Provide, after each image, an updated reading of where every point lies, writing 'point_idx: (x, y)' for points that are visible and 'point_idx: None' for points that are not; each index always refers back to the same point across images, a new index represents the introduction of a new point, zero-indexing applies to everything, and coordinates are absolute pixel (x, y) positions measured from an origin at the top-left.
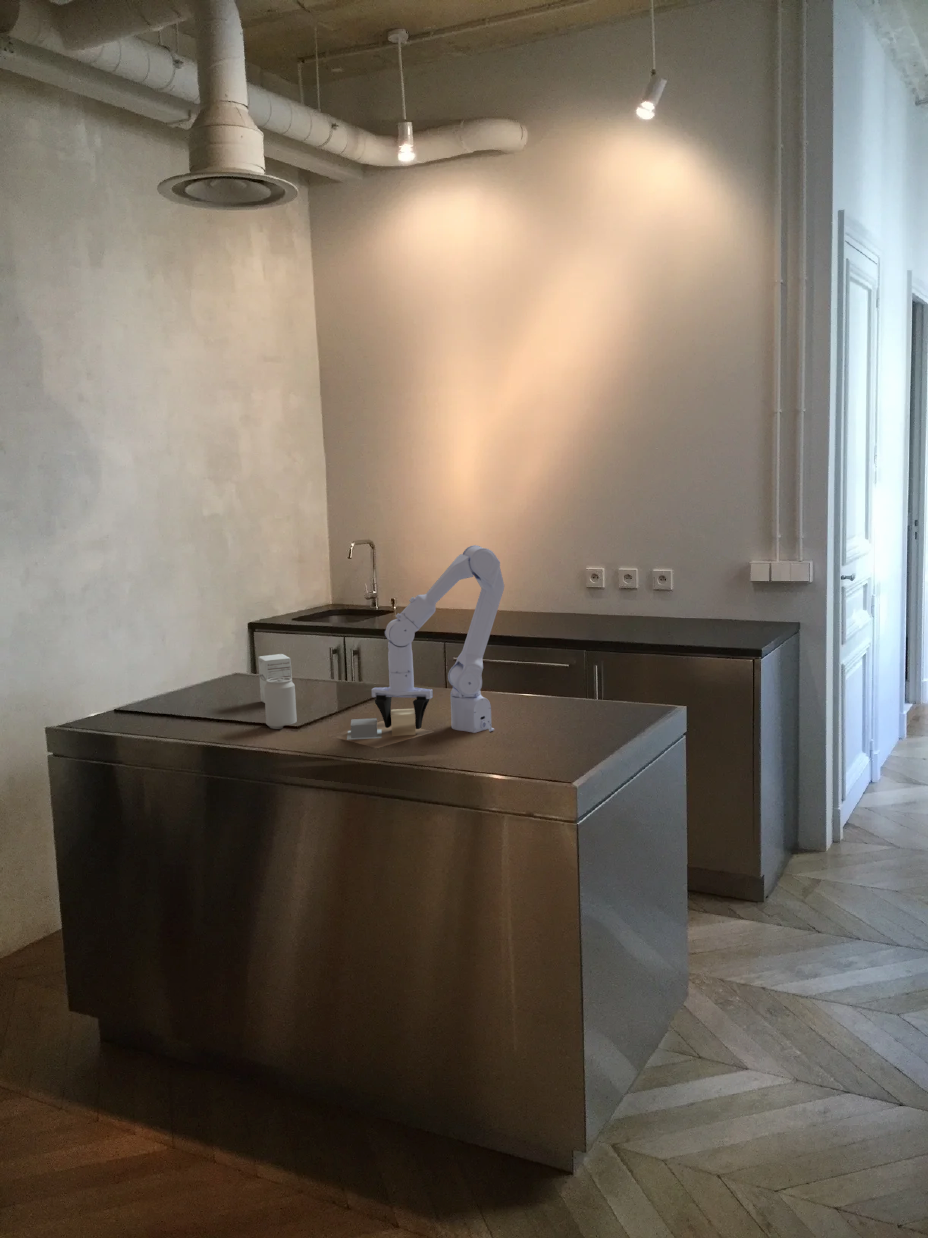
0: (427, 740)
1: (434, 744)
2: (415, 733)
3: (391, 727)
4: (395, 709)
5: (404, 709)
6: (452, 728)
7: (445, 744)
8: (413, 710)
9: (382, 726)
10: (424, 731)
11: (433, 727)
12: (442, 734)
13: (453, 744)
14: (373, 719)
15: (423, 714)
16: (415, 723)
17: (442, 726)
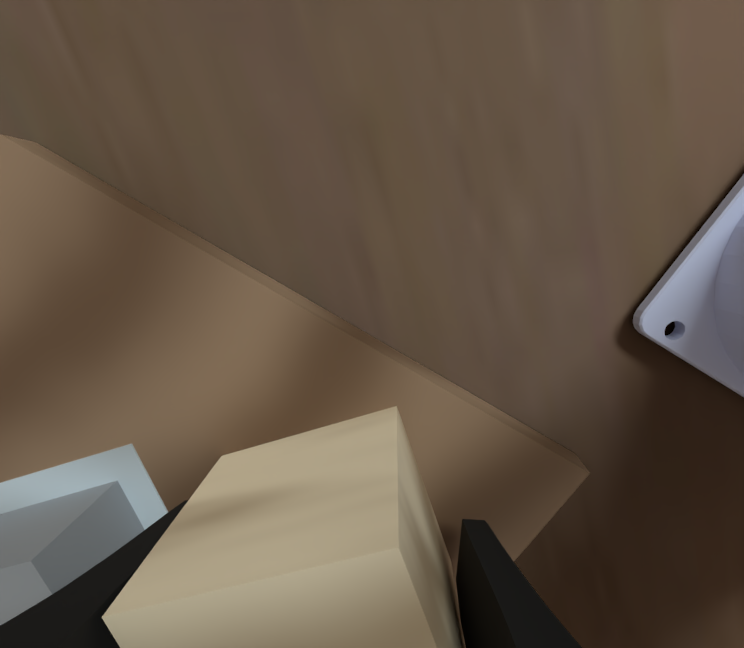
0: (536, 556)
1: (602, 632)
2: (451, 569)
3: (182, 380)
4: (155, 610)
5: (277, 604)
6: (737, 355)
7: (678, 629)
8: (421, 644)
9: (94, 359)
10: (497, 471)
11: (506, 188)
12: (624, 402)
13: (734, 626)
14: (27, 605)
15: (554, 624)
16: (465, 641)
17: (587, 138)
